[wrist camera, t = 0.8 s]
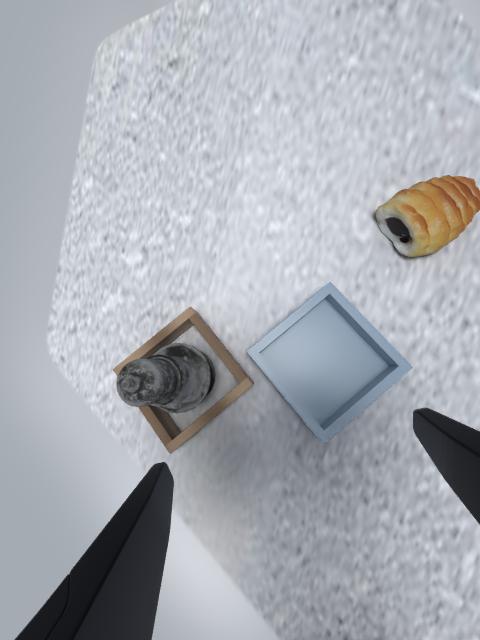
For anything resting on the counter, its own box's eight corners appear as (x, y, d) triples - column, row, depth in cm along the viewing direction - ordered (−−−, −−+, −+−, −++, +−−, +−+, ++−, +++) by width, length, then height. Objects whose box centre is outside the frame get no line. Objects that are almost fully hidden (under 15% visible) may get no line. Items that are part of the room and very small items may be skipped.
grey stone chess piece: (178, 418, 25) (100, 467, 13) (150, 366, 26) (54, 368, 14) (229, 385, 25) (198, 402, 13) (198, 334, 26) (144, 309, 14)
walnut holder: (179, 445, 24) (170, 454, 22) (127, 369, 26) (112, 369, 24) (254, 382, 25) (252, 384, 22) (197, 311, 26) (190, 306, 24)
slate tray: (317, 437, 23) (323, 445, 21) (248, 352, 25) (246, 351, 23) (399, 367, 24) (413, 367, 21) (324, 288, 26) (330, 281, 23)
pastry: (442, 173, 27) (471, 142, 23) (486, 222, 26) (524, 198, 22) (366, 218, 27) (383, 194, 23) (406, 269, 25) (431, 253, 22)
